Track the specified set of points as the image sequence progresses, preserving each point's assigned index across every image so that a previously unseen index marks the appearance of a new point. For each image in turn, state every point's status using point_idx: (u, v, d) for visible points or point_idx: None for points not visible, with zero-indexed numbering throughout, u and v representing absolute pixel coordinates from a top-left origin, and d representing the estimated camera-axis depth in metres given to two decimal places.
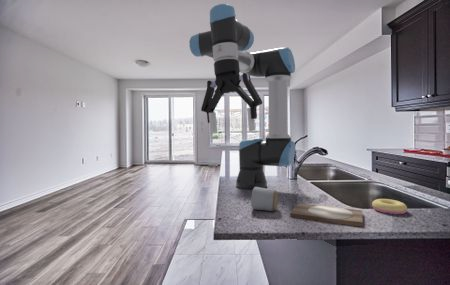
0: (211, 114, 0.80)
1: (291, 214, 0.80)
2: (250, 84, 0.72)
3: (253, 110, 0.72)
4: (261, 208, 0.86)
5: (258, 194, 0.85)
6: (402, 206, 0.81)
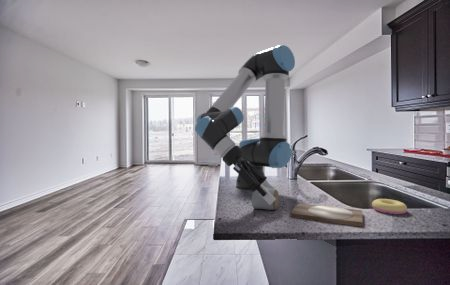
0: (262, 185, 0.93)
1: (291, 214, 0.80)
2: (242, 174, 0.84)
3: None
4: (262, 207, 0.87)
5: None
6: (402, 206, 0.81)
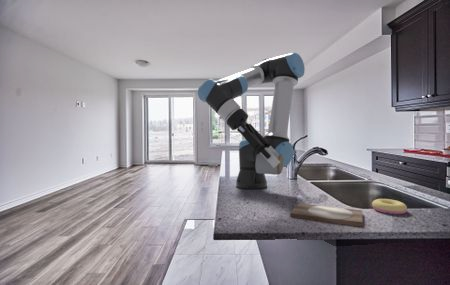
0: None
1: (291, 214, 0.80)
2: (246, 135, 0.82)
3: (262, 153, 0.81)
4: (265, 171, 0.84)
5: (263, 157, 0.84)
6: (402, 206, 0.81)
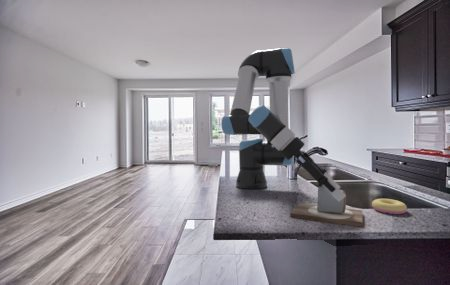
0: None
1: (291, 214, 0.80)
2: (307, 166, 0.75)
3: (325, 186, 0.74)
4: (329, 210, 0.78)
5: (325, 195, 0.77)
6: (402, 206, 0.81)
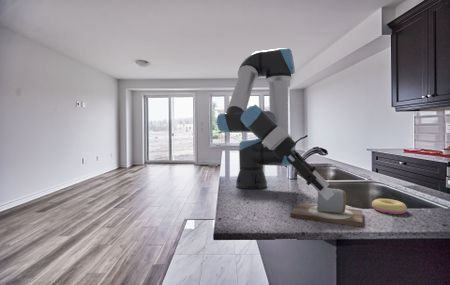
0: None
1: (291, 214, 0.80)
2: (296, 165, 0.75)
3: (314, 184, 0.74)
4: (328, 210, 0.78)
5: None
6: (402, 206, 0.81)
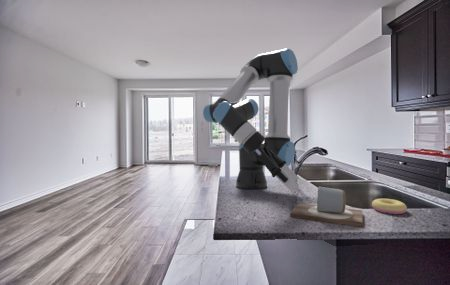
0: (281, 169, 0.91)
1: (291, 214, 0.80)
2: (262, 158, 0.78)
3: (279, 177, 0.77)
4: (328, 210, 0.78)
5: (325, 194, 0.78)
6: (401, 206, 0.81)
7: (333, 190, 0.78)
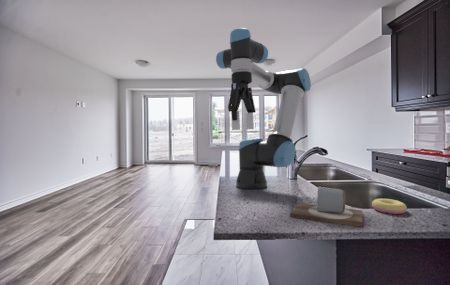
0: (247, 114, 1.02)
1: (291, 214, 0.80)
2: (233, 92, 0.89)
3: None
4: (328, 210, 0.78)
5: (325, 194, 0.78)
6: (401, 206, 0.81)
7: (333, 190, 0.79)
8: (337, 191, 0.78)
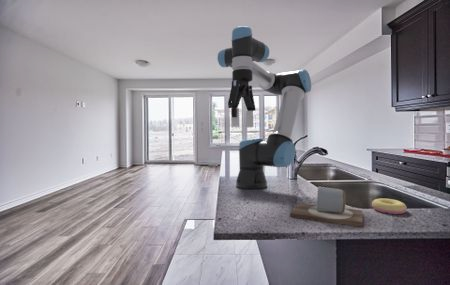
0: (247, 112, 1.03)
1: (291, 214, 0.80)
2: (233, 89, 0.90)
3: None
4: (328, 210, 0.78)
5: (325, 194, 0.78)
6: (401, 206, 0.81)
7: (333, 190, 0.79)
8: (337, 191, 0.78)
